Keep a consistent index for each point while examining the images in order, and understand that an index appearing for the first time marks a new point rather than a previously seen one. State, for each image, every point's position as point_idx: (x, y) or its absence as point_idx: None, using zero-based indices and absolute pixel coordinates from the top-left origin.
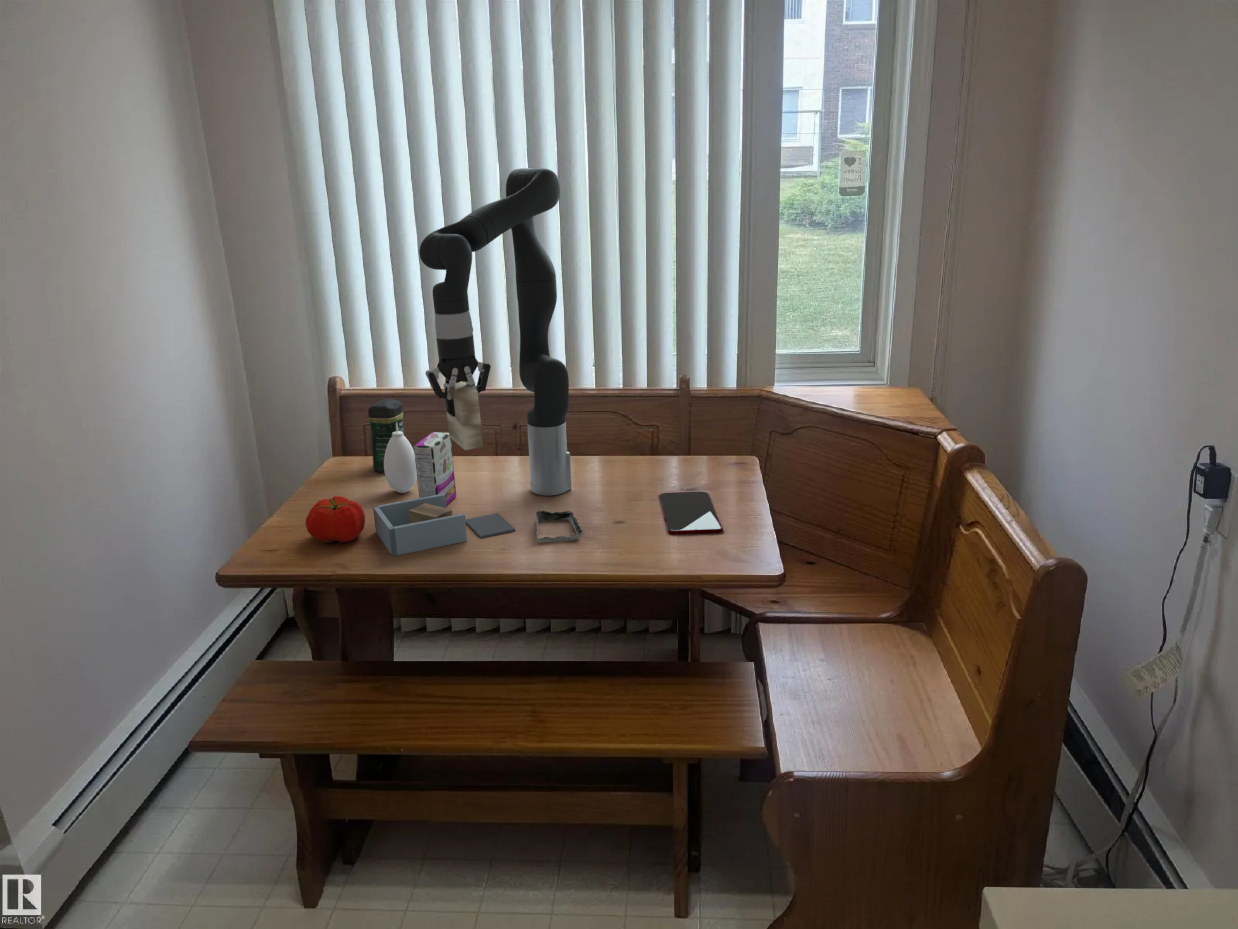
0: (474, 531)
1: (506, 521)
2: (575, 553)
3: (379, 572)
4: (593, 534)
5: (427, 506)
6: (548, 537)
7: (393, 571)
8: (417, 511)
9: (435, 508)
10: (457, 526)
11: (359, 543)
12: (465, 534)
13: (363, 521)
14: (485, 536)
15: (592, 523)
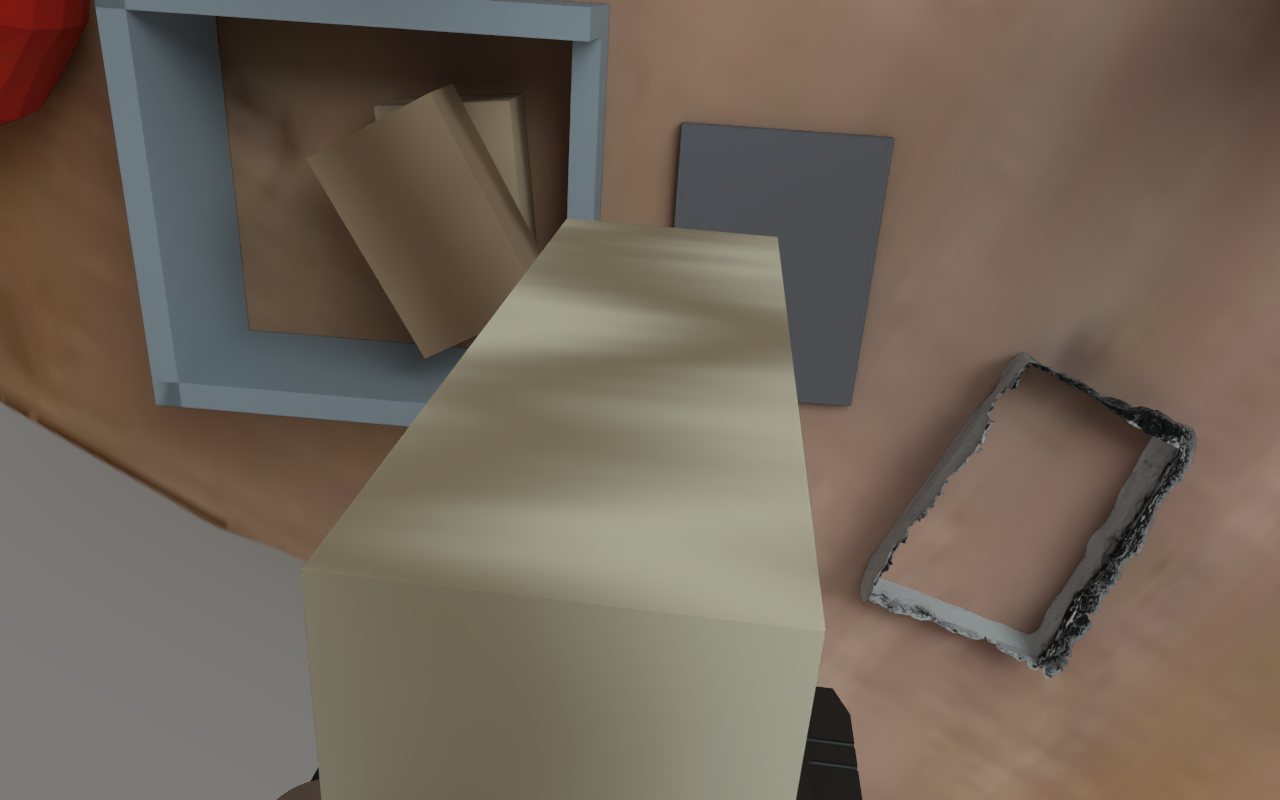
0: None
1: (866, 291)
2: (929, 732)
3: (156, 469)
4: (1122, 627)
5: (428, 163)
6: (908, 610)
7: (212, 491)
8: (352, 210)
9: (463, 227)
10: None
11: (88, 94)
12: None
13: (61, 37)
14: None
15: (1215, 525)
